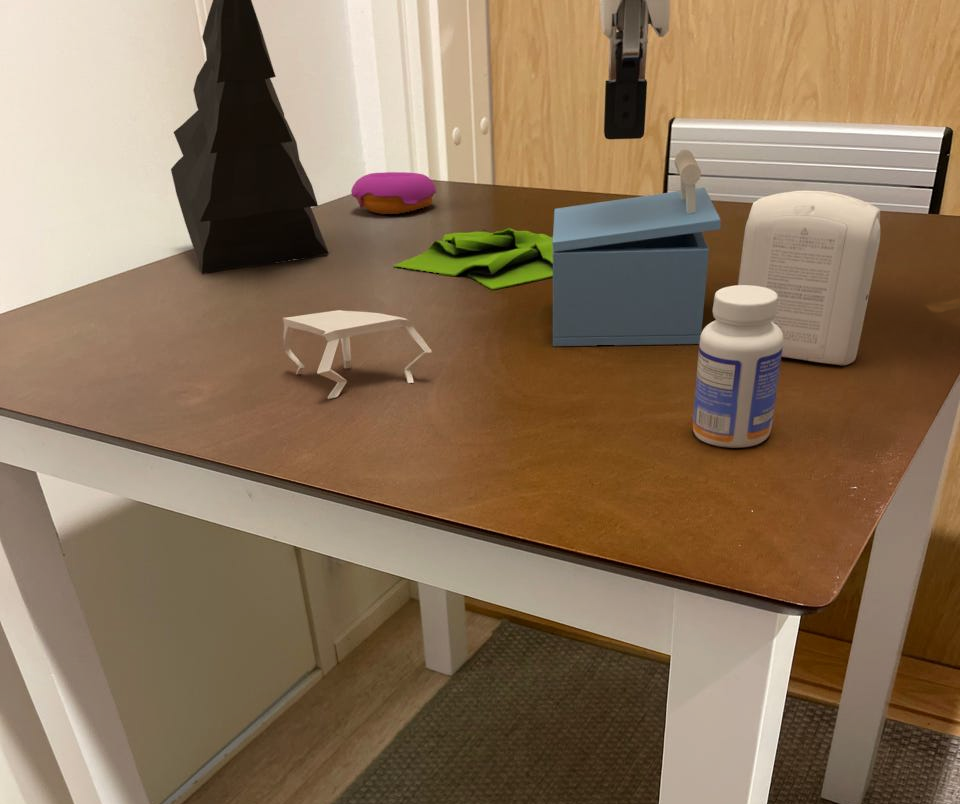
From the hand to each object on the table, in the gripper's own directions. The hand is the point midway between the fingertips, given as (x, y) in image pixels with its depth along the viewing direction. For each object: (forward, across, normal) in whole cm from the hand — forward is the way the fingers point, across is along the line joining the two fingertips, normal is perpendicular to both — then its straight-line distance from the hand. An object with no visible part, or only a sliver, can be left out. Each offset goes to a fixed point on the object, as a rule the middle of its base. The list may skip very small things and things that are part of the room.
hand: (623, 136), depth 79 cm
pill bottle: (+15, -24, -7) cm, 29 cm away
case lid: (+7, 0, -1) cm, 7 cm away
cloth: (+15, +22, +12) cm, 30 cm away
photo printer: (+15, -8, -14) cm, 23 cm away
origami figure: (+16, -13, +21) cm, 29 cm away
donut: (+16, +47, +27) cm, 57 cm away
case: (+15, 0, -1) cm, 15 cm away
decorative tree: (+16, +22, +38) cm, 47 cm away
